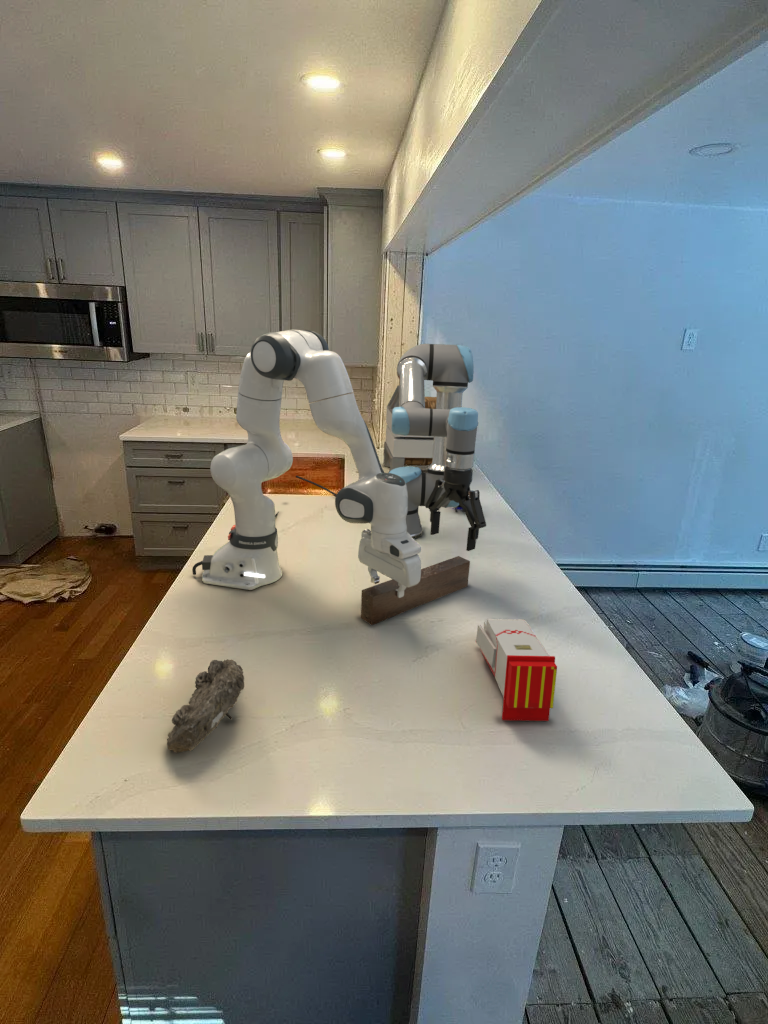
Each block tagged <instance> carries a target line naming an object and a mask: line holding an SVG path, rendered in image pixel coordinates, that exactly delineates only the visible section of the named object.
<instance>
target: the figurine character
mask: <svg viewBox="0 0 768 1024" xmlns="http://www.w3.org/2000/svg"><path fill="white" fill-rule="evenodd" d="M464 501H466V500H464ZM452 508H453V509H454V511H455V512H456V513H458V510H461V511H462V513H465V512H464V510H463V508H462V506H460V505H458V506H457V507H452Z"/></svg>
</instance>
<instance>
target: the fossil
mask: <svg viewBox="0 0 768 1024" xmlns="http://www.w3.org/2000/svg"><path fill="white" fill-rule="evenodd" d="M243 670H244V669H243V667H242V665H240V664H237V662H236V661H235V660H234V659H232V658H231V659H227V658H226V659H224V660H223V661H222V660H217V659H212V660H211V661H210V663H209V665H208V666H207V671H201V672H199V673H198V674H197V675H196V676H195V680H194V684H195V685H194V687H195V689H194V690H193V693H192V694H191V697H190V698H189V700H188V704H184V705H182V706H181V707H180V709H177V710H176V711H175V713H174V715H173V716H172V718H171V723H172V724H173V727H172V730H171V731H170V732H168V734H167V738H166V741H167V742H166V745H167V749H168V750H169V751H173V752H174V753H176V754H178V753H182V752H188V751H189V752H192V751H193V750H195V748H196V747H197V746H199V744H200V743H201V742H203V741H204V740H205V739H206V738H207V737H208V736H209V735H210V734H211V733H212V732H214V730H215V729H217V727H218V726H219V724H220V722H221V721H222V720H223V719H224V718H225V716H226V717H227V719H229V720H233V717H232V715H230V714H229V710H230V709H231V708H234V706H235V704H236V703H237V702H238V699H239V697H240V695H241V693H242V691H243V690H245V689H244V688H245V675H244V671H243Z"/></svg>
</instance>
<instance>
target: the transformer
mask: <svg viewBox="0 0 768 1024" xmlns="http://www.w3.org/2000/svg"><path fill="white" fill-rule="evenodd" d="M399 390H400V384H398V385H397V386H396V388H395V390H394V392H393V394H392V395H391V398H390V400H389V402H388V404H387V405H386V413H385V414H386V415H385V423H386V428H385V438H384V442H383V466H384V467H388V468H389V472H390V471H391V470H393V469H395V468H399V467H405V466H413V467H428V466H429V465H431V464H432V459H433V443H434V436H413V435H407V436H404V435H399V434H394V433H392V430H391V428H392V410H393V408H395V407H399ZM436 397H437V396H425V408H427V409H436Z"/></svg>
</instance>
